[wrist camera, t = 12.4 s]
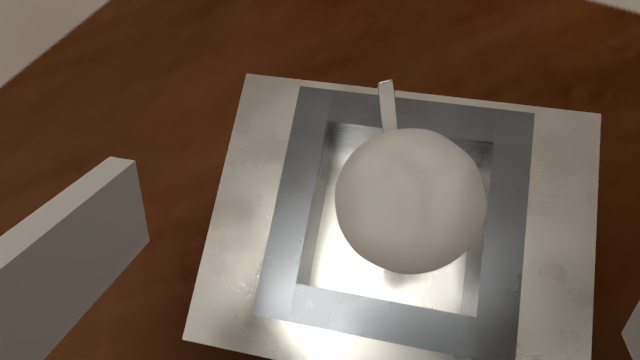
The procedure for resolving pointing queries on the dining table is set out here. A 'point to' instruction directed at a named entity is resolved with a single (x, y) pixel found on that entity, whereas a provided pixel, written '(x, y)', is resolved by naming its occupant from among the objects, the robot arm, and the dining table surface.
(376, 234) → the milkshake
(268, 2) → the dining table surface
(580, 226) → the holder
